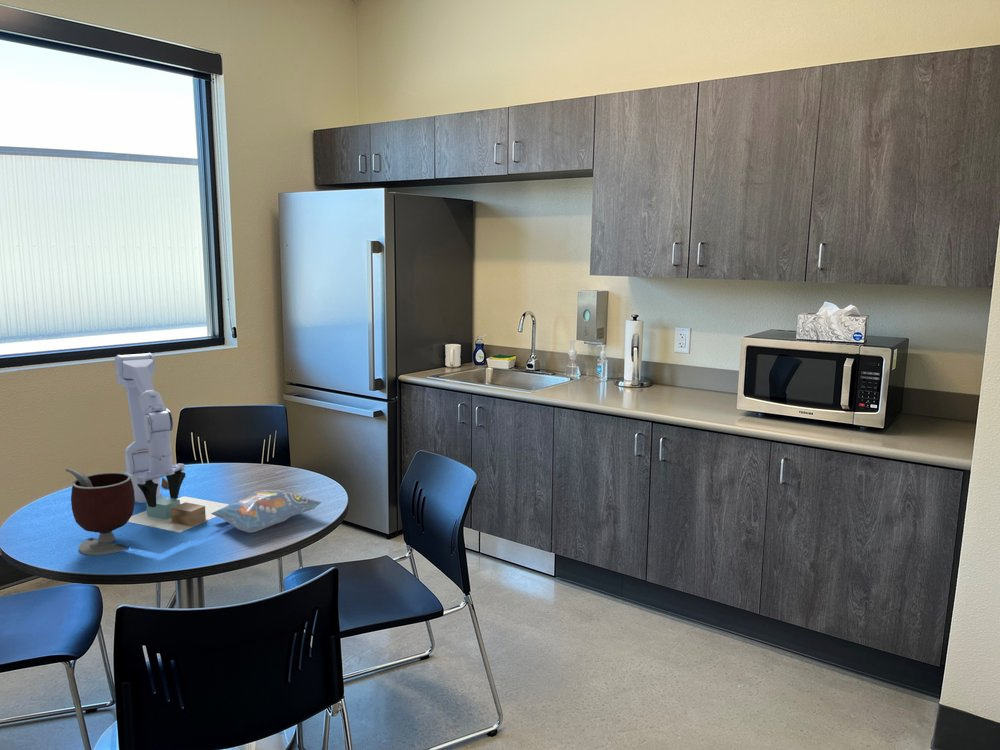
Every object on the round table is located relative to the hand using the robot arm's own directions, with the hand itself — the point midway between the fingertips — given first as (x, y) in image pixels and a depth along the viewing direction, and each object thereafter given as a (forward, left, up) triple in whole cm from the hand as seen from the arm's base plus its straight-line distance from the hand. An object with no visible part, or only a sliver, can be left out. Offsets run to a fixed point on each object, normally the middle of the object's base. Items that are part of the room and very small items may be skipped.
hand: (163, 502), depth 201 cm
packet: (+27, +10, -5) cm, 29 cm away
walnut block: (+10, -1, -4) cm, 11 cm away
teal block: (0, 0, -4) cm, 4 cm away
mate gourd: (+1, -20, -5) cm, 21 cm away
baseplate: (+3, +3, -5) cm, 7 cm away
